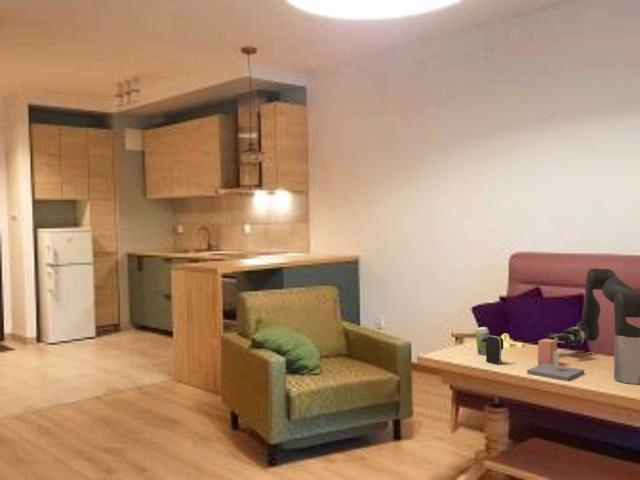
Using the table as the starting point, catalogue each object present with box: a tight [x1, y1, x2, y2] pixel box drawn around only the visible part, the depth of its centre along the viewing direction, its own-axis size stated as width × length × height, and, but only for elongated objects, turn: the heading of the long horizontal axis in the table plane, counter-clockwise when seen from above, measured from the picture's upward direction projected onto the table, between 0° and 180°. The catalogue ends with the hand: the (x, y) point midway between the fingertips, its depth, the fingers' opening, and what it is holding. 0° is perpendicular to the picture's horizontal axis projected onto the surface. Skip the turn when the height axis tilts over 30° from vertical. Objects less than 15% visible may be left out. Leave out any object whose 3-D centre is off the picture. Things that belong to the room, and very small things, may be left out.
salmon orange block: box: [537, 338, 558, 366], centre depth 260 cm, size 5×7×10 cm
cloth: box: [500, 333, 526, 350], centre depth 301 cm, size 22×19×6 cm
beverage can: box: [474, 326, 491, 356], centre depth 279 cm, size 6×7×12 cm
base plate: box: [526, 363, 585, 382], centre depth 244 cm, size 16×16×2 cm
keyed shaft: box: [553, 351, 560, 371], centre depth 244 cm, size 2×4×7 cm, turn 167°
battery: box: [485, 335, 504, 365], centre depth 262 cm, size 7×4×11 cm, turn 35°
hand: (558, 341), depth 268 cm, fingers open, 8 cm apart
